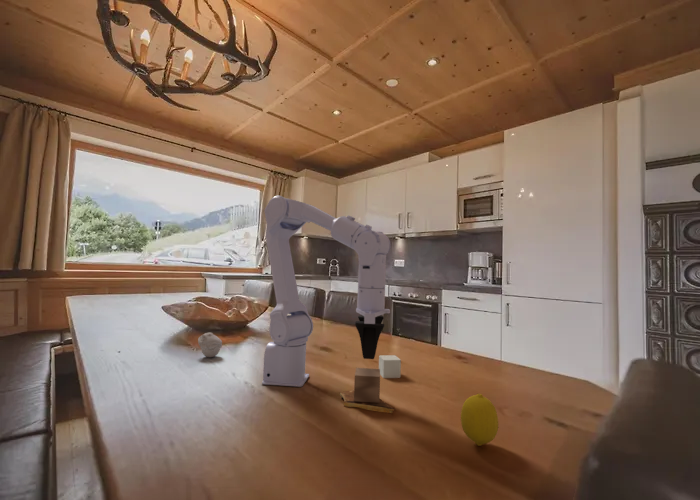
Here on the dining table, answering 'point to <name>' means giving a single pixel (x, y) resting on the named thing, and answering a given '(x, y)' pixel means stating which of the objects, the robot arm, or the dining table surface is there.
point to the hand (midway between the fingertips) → (369, 353)
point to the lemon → (479, 419)
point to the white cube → (389, 366)
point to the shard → (365, 403)
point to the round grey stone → (209, 344)
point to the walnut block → (367, 385)
